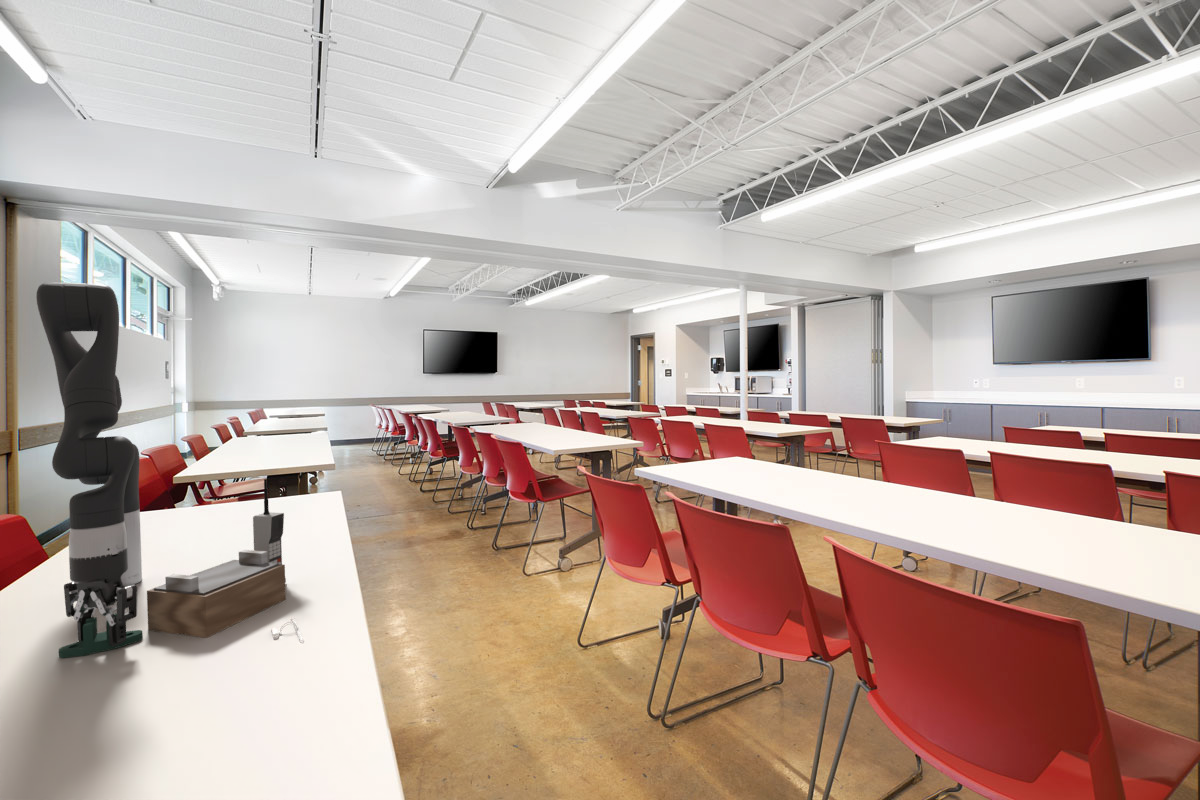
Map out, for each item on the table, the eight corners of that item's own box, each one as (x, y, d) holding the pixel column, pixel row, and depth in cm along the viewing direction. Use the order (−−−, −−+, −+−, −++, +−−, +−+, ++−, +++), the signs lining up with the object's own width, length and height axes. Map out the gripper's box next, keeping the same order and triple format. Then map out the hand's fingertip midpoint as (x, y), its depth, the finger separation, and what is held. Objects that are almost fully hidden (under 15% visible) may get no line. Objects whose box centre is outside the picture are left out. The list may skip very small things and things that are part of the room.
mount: (56, 661, 90) (55, 632, 90) (62, 651, 94) (60, 623, 93) (141, 642, 96) (140, 615, 96) (143, 633, 100) (142, 607, 100)
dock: (148, 630, 101) (146, 576, 101) (233, 594, 119) (232, 548, 119) (206, 637, 98) (205, 581, 98) (285, 599, 116) (284, 551, 115)
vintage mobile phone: (273, 589, 122) (270, 480, 121) (254, 588, 123) (251, 479, 122) (286, 583, 125) (283, 477, 125) (268, 582, 126) (265, 477, 126)
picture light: (305, 645, 96) (304, 633, 96) (276, 652, 93) (276, 640, 93) (294, 618, 107) (293, 608, 107) (268, 625, 104) (268, 614, 104)
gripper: (42, 553, 93) (46, 647, 93) (105, 559, 89) (108, 656, 90) (93, 541, 100) (96, 628, 100) (152, 545, 96) (155, 636, 97)
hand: (102, 641), depth 95 cm, fingers closed on mount, 7 cm apart
